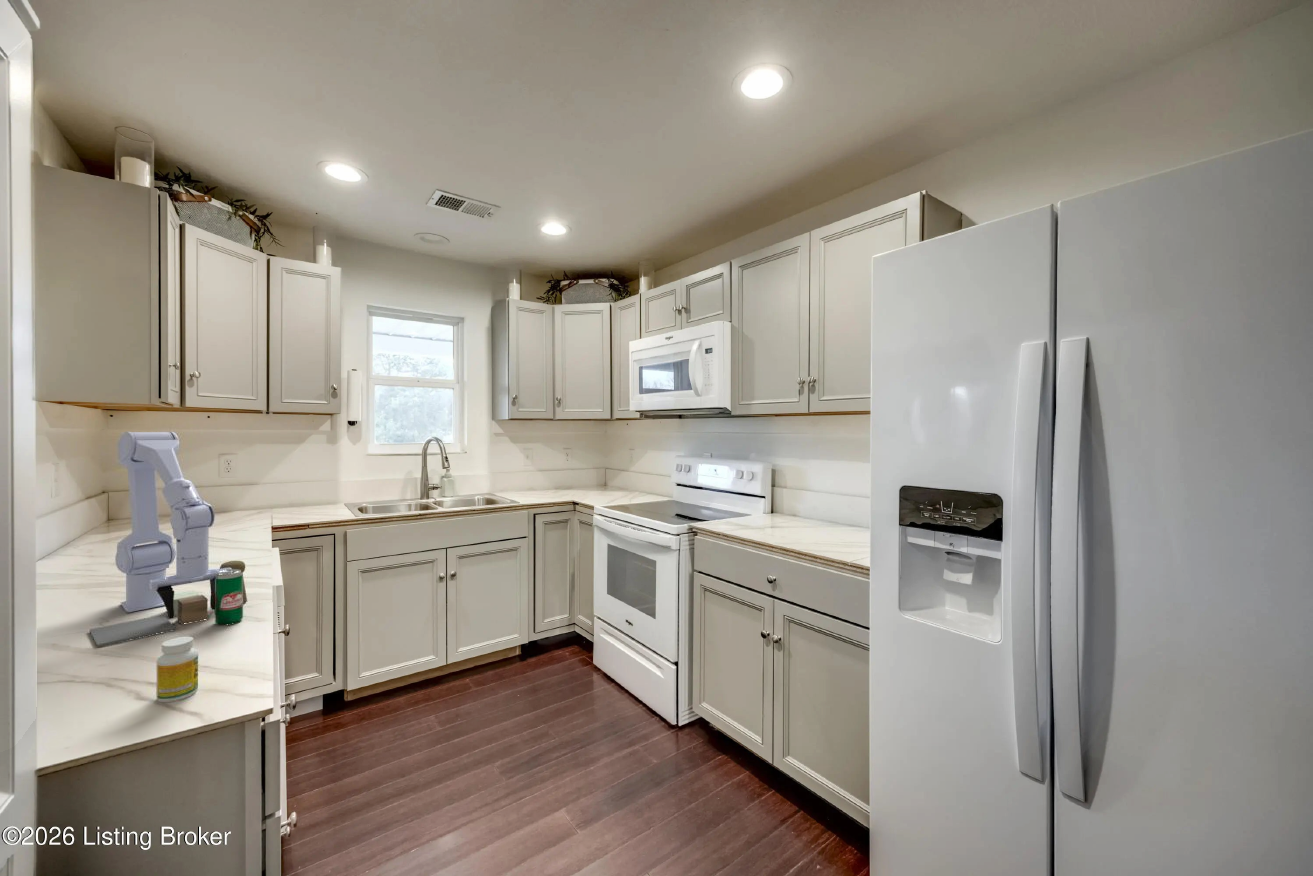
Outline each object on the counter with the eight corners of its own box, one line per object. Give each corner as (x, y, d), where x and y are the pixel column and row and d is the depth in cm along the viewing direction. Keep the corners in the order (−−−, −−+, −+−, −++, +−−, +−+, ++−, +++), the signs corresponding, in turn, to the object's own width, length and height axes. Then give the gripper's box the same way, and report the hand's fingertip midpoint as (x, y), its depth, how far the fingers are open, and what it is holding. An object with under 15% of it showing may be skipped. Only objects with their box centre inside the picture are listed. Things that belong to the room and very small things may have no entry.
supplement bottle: (153, 695, 90) (153, 641, 90) (194, 684, 95) (194, 632, 94) (159, 707, 87) (159, 650, 87) (201, 694, 91) (201, 640, 91)
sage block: (167, 611, 129) (167, 595, 128) (193, 606, 133) (193, 590, 132) (172, 616, 126) (172, 600, 125) (199, 610, 130) (199, 594, 129)
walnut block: (177, 620, 123) (177, 599, 123) (202, 614, 127) (202, 594, 127) (182, 625, 120) (182, 603, 120) (207, 619, 124) (207, 598, 124)
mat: (89, 632, 115) (89, 629, 115) (163, 616, 125) (163, 614, 125) (97, 647, 108) (97, 644, 108) (175, 630, 117) (175, 627, 117)
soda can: (220, 628, 119) (220, 576, 119) (211, 622, 122) (211, 572, 122) (246, 621, 124) (246, 571, 123) (237, 616, 126) (237, 567, 126)
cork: (230, 608, 131) (230, 565, 131) (210, 606, 132) (210, 563, 132) (253, 601, 137) (253, 559, 136) (234, 598, 138) (234, 557, 138)
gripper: (154, 565, 115) (154, 626, 115) (236, 553, 127) (235, 608, 127) (147, 559, 119) (147, 618, 120) (227, 548, 131) (227, 601, 131)
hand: (192, 612), depth 124 cm, fingers open, 7 cm apart
